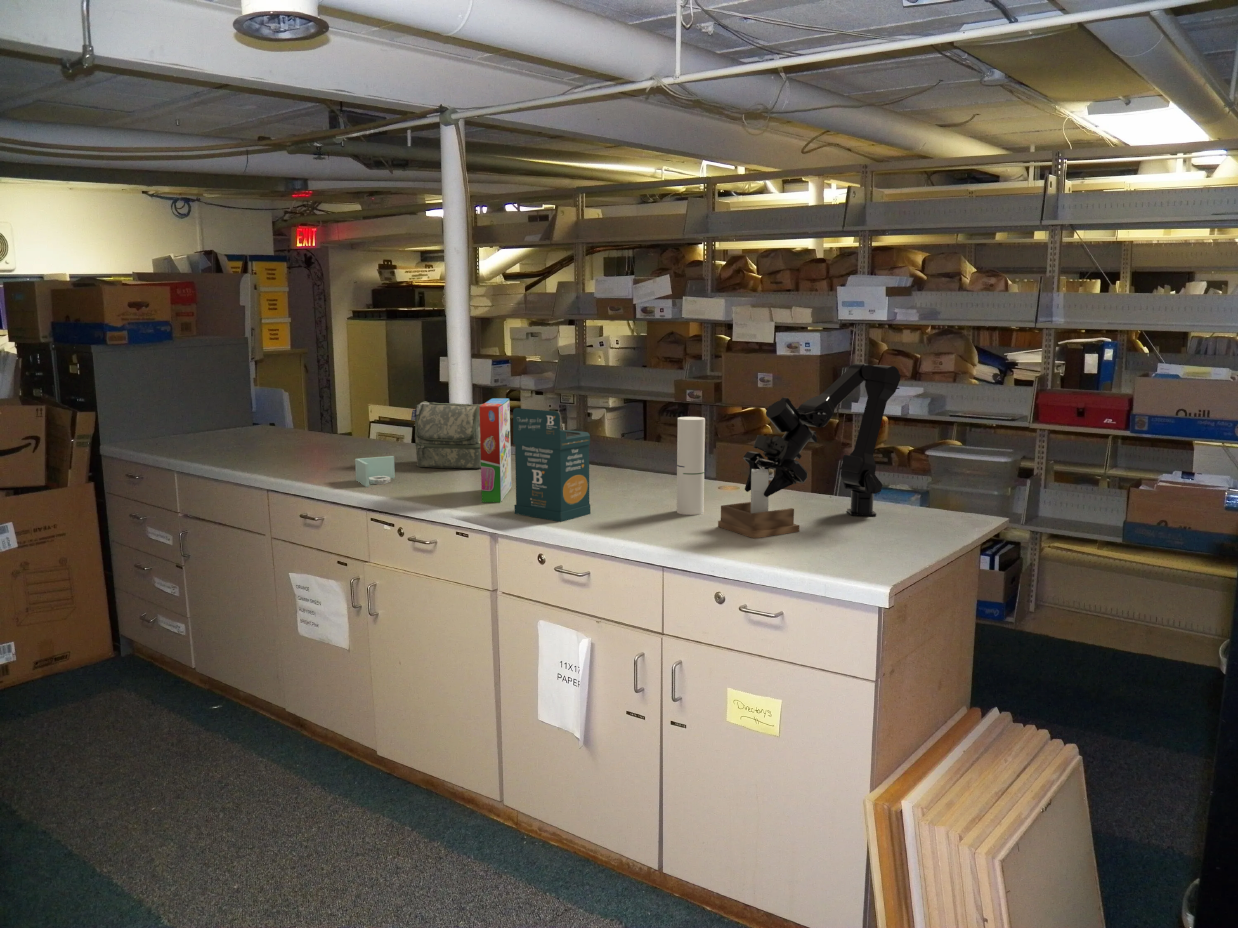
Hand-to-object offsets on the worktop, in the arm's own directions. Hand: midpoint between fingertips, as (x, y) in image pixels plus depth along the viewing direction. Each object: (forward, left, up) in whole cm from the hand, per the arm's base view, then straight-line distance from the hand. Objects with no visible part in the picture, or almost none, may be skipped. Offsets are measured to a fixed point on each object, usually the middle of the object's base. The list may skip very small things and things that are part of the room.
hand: (755, 493), depth 229 cm
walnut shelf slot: (-1, +1, -9) cm, 9 cm away
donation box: (-17, -50, -9) cm, 54 cm away
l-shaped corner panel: (-59, -110, -10) cm, 125 cm away
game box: (-39, -70, -9) cm, 81 cm away
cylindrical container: (-19, -15, -9) cm, 26 cm away
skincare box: (-1, +1, -7) cm, 7 cm away
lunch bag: (-91, -94, -9) cm, 132 cm away
